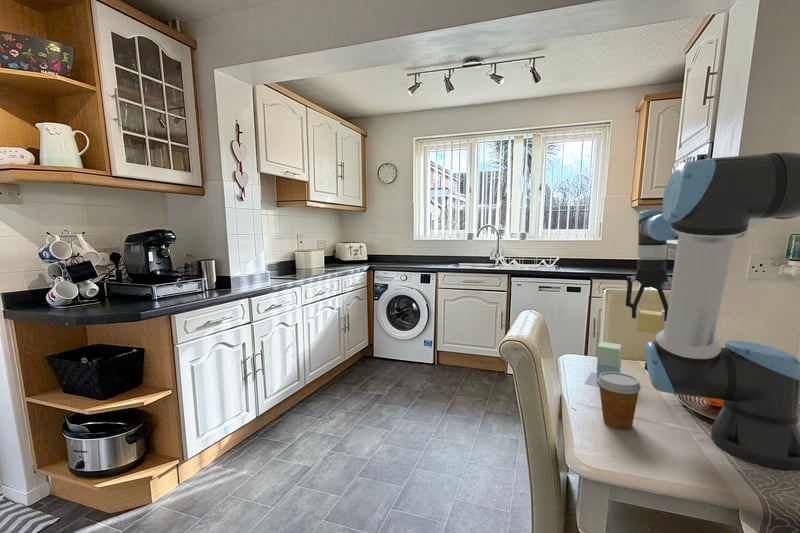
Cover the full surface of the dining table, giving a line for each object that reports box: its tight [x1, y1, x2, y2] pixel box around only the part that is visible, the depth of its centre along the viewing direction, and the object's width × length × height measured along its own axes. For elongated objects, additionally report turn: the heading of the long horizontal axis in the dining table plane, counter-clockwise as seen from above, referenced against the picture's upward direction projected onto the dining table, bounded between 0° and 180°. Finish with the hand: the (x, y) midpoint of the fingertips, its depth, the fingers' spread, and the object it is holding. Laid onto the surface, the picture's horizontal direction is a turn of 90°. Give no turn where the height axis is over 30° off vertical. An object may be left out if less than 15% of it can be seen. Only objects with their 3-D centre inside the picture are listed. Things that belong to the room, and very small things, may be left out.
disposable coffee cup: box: [597, 372, 642, 431], centre depth 90 cm, size 10×10×12 cm
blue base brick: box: [596, 363, 622, 383], centre depth 113 cm, size 6×6×6 cm
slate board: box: [584, 371, 600, 388], centre depth 114 cm, size 12×12×1 cm
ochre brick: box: [637, 309, 662, 335], centre depth 114 cm, size 6×6×6 cm
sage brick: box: [596, 341, 623, 368], centre depth 113 cm, size 6×6×6 cm
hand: (649, 329), depth 114 cm, fingers closed on ochre brick, 6 cm apart
